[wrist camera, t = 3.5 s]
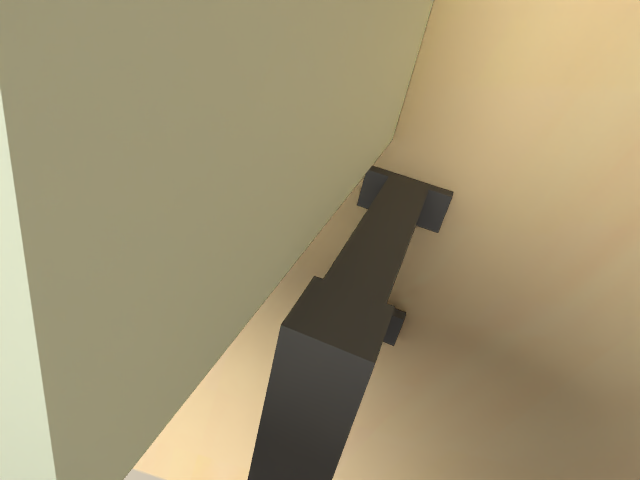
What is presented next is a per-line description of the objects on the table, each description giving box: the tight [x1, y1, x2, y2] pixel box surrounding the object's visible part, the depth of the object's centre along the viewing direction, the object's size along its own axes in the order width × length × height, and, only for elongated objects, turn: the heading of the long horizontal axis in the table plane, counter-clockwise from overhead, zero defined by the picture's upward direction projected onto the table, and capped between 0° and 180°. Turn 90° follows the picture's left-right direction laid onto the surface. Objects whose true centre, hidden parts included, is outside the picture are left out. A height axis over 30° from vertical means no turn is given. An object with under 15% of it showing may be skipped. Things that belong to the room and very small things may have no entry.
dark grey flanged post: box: [248, 166, 453, 480], centre depth 14 cm, size 3×7×9 cm, turn 168°
